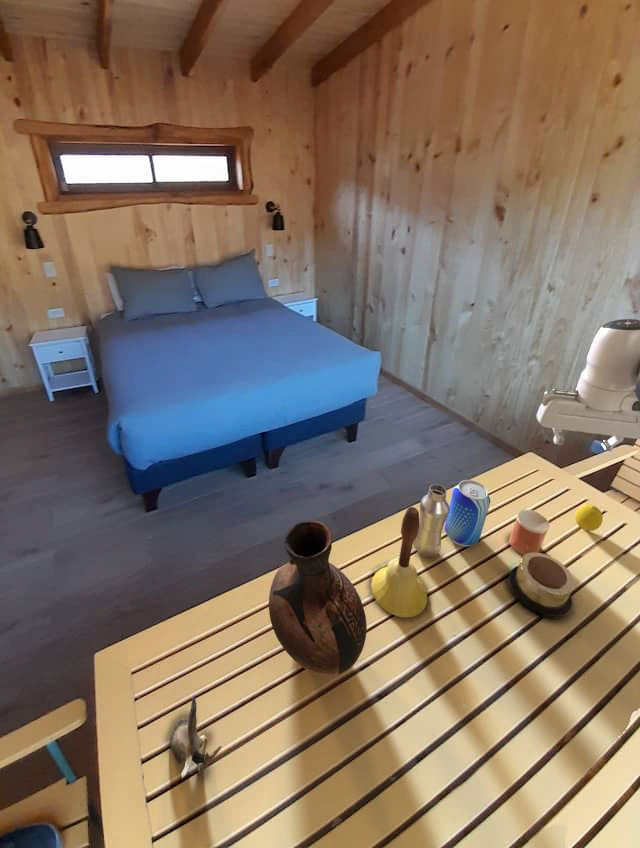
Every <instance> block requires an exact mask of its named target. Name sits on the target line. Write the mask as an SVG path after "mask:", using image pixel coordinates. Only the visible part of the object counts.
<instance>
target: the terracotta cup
mask: <svg viewBox="0 0 640 848" xmlns="http://www.w3.org/2000/svg"><path fill="white" fill-rule="evenodd" d="M549 528H550V522H549V520H548V519H547V518H546V517H545V516H544V515H543V514H541V513H540V512H538V511H535V510H532V509H527V508H525V509H521V510H519V511H518V512H517V514H516V518H515V522H514V524H513V527H512V529H511V534H510V537H509V539H508V541H509V545H510V546H511V548H512V549H513V550H514V551H515V552H517V553H518V554H520V555H522V556H524V555H526V554H528V553H534V552H535V553H540V551H541V548H542V545H543V543H544V541H545V537H546V536H547V533H548V531H549Z"/></svg>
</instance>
